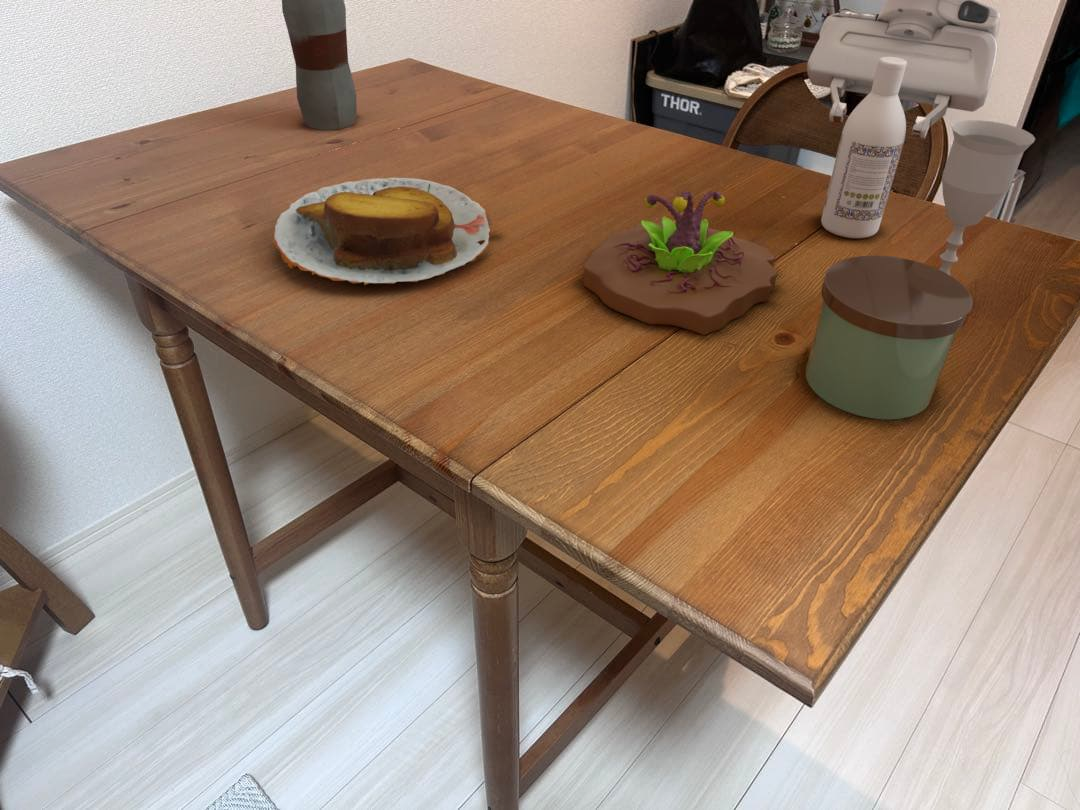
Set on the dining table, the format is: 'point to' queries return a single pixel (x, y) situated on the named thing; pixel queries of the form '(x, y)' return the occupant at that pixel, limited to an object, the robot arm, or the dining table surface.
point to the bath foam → (867, 157)
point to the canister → (884, 335)
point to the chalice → (978, 174)
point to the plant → (680, 269)
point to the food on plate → (382, 230)
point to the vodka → (321, 62)
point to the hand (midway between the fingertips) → (875, 127)
